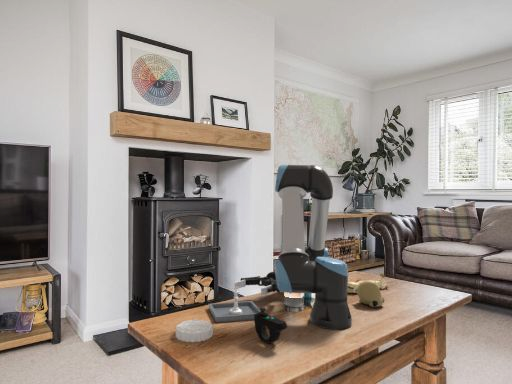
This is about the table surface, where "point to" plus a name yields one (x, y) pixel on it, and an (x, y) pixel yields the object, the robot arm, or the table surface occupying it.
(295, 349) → the table surface
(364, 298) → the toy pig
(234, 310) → the chess piece
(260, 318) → the controller
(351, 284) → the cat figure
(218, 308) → the tray
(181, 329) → the mooncake
